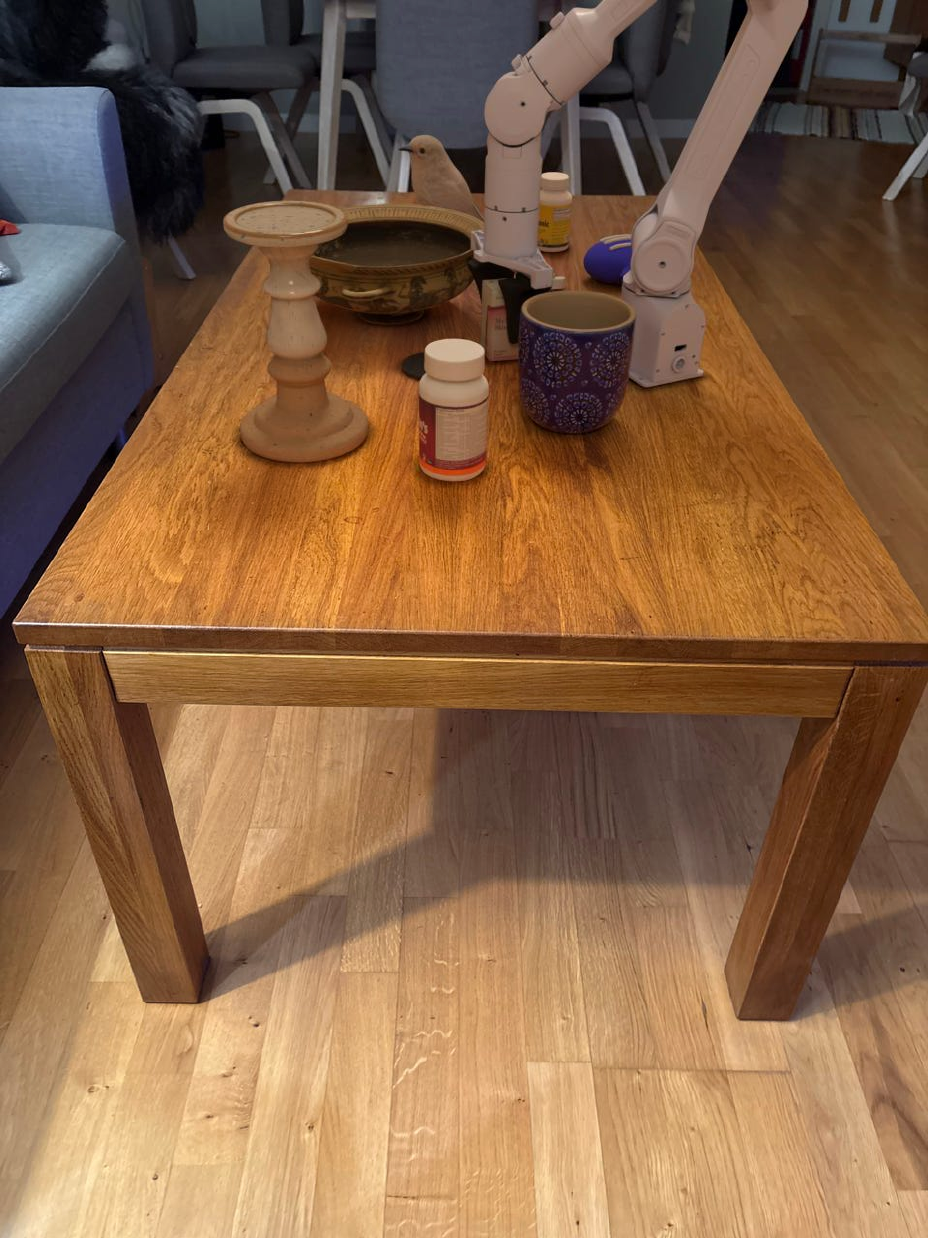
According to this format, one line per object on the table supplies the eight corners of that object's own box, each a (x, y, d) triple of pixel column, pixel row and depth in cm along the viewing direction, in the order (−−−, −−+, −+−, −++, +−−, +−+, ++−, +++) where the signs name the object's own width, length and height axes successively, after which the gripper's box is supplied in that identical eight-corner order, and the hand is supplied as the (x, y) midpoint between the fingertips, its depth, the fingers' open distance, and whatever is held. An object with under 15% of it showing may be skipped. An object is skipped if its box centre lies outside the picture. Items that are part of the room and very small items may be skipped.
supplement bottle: (525, 243, 143) (528, 172, 137) (557, 239, 145) (562, 169, 139) (542, 254, 139) (547, 181, 133) (575, 250, 141) (581, 178, 135)
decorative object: (596, 241, 122) (578, 229, 131) (591, 289, 125) (574, 274, 134) (677, 243, 123) (654, 231, 132) (670, 291, 126) (648, 276, 135)
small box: (489, 362, 108) (491, 292, 103) (479, 348, 111) (481, 278, 106) (532, 359, 109) (537, 289, 104) (521, 344, 112) (525, 275, 107)
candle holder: (230, 415, 97) (200, 202, 84) (350, 398, 100) (337, 192, 88) (254, 473, 88) (224, 244, 75) (384, 452, 91) (376, 230, 79)
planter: (640, 411, 99) (655, 303, 92) (595, 454, 92) (608, 340, 85) (544, 386, 103) (552, 281, 97) (495, 426, 96) (499, 315, 89)
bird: (397, 245, 141) (394, 132, 132) (485, 239, 144) (489, 128, 135) (404, 255, 137) (401, 139, 128) (495, 249, 140) (499, 135, 131)
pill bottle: (417, 452, 91) (415, 335, 84) (482, 450, 92) (486, 334, 85) (421, 485, 87) (420, 364, 80) (489, 482, 87) (494, 362, 80)
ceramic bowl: (325, 268, 133) (319, 190, 126) (499, 279, 130) (502, 200, 124) (257, 354, 109) (246, 264, 103) (468, 370, 107) (470, 278, 100)
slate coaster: (476, 374, 106) (476, 370, 105) (417, 385, 103) (417, 381, 103) (448, 351, 111) (448, 347, 110) (391, 361, 108) (391, 357, 108)
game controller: (556, 281, 130) (558, 261, 128) (587, 312, 121) (590, 291, 120) (516, 284, 129) (517, 264, 127) (544, 316, 120) (546, 295, 118)
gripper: (446, 192, 104) (446, 316, 112) (512, 228, 94) (506, 362, 102) (504, 185, 107) (499, 307, 115) (574, 220, 96) (563, 351, 105)
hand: (506, 332), depth 109 cm, fingers closed on small box, 5 cm apart
